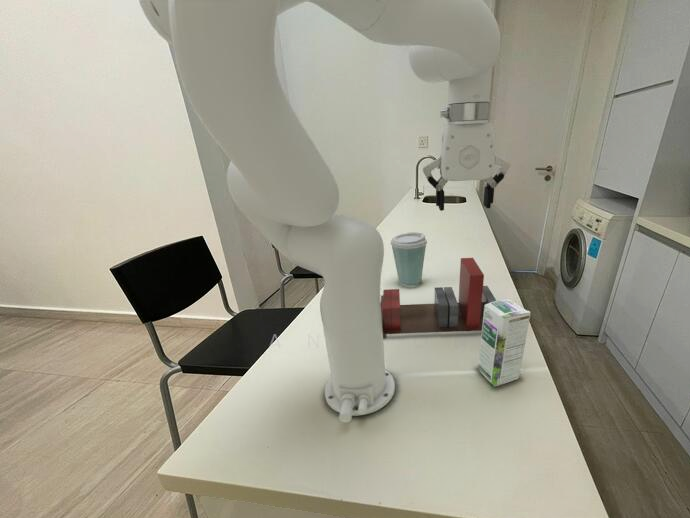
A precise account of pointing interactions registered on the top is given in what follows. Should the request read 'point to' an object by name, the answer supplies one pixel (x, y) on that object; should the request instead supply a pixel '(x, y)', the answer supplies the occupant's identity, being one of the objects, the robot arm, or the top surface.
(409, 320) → the book rack
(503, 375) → the syrup box
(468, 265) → the red book
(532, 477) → the top surface
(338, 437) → the top surface
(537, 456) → the top surface
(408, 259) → the disposable coffee cup
